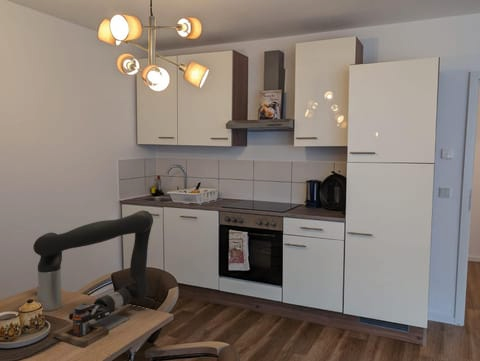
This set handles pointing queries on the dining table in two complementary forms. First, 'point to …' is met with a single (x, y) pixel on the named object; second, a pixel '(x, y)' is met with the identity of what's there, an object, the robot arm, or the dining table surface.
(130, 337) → the dining table surface
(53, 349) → the dining table surface
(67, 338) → the walnut collar
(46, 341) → the dining table surface
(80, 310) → the supplement bottle
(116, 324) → the charcoal mat
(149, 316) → the dining table surface
